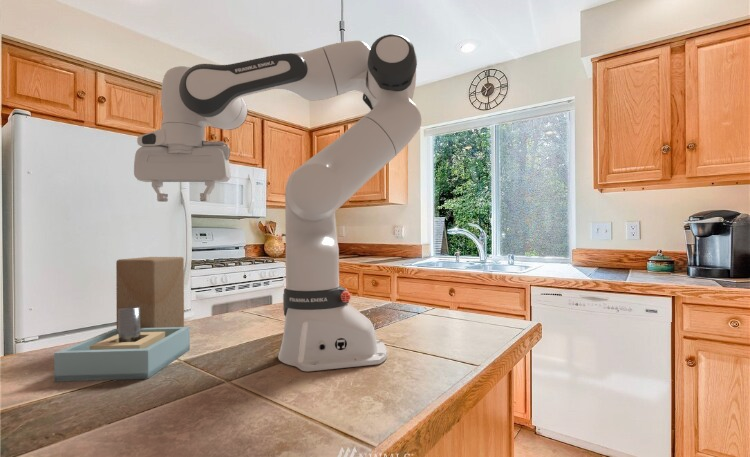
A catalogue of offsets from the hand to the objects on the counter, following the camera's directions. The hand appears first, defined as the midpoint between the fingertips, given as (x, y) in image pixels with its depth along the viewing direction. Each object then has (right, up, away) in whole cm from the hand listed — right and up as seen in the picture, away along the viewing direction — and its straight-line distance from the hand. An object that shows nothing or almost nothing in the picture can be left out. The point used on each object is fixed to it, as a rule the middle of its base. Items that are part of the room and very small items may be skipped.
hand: (183, 201), depth 82 cm
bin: (-5, -33, -11) cm, 35 cm away
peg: (-5, -32, -11) cm, 34 cm away
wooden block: (-10, -34, +4) cm, 35 cm away
